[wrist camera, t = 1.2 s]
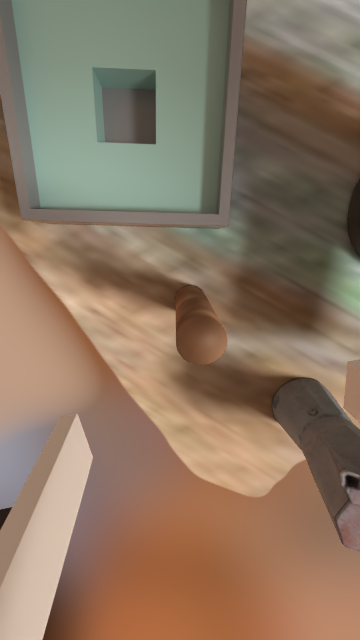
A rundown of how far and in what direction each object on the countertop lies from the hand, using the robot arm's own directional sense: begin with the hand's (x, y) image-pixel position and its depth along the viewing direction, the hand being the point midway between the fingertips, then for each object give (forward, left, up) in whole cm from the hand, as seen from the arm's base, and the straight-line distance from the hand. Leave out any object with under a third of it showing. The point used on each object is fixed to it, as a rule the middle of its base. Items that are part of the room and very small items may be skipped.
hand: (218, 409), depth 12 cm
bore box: (+7, -19, -22) cm, 30 cm away
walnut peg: (0, 0, -22) cm, 22 cm away
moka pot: (-18, +16, -22) cm, 32 cm away
